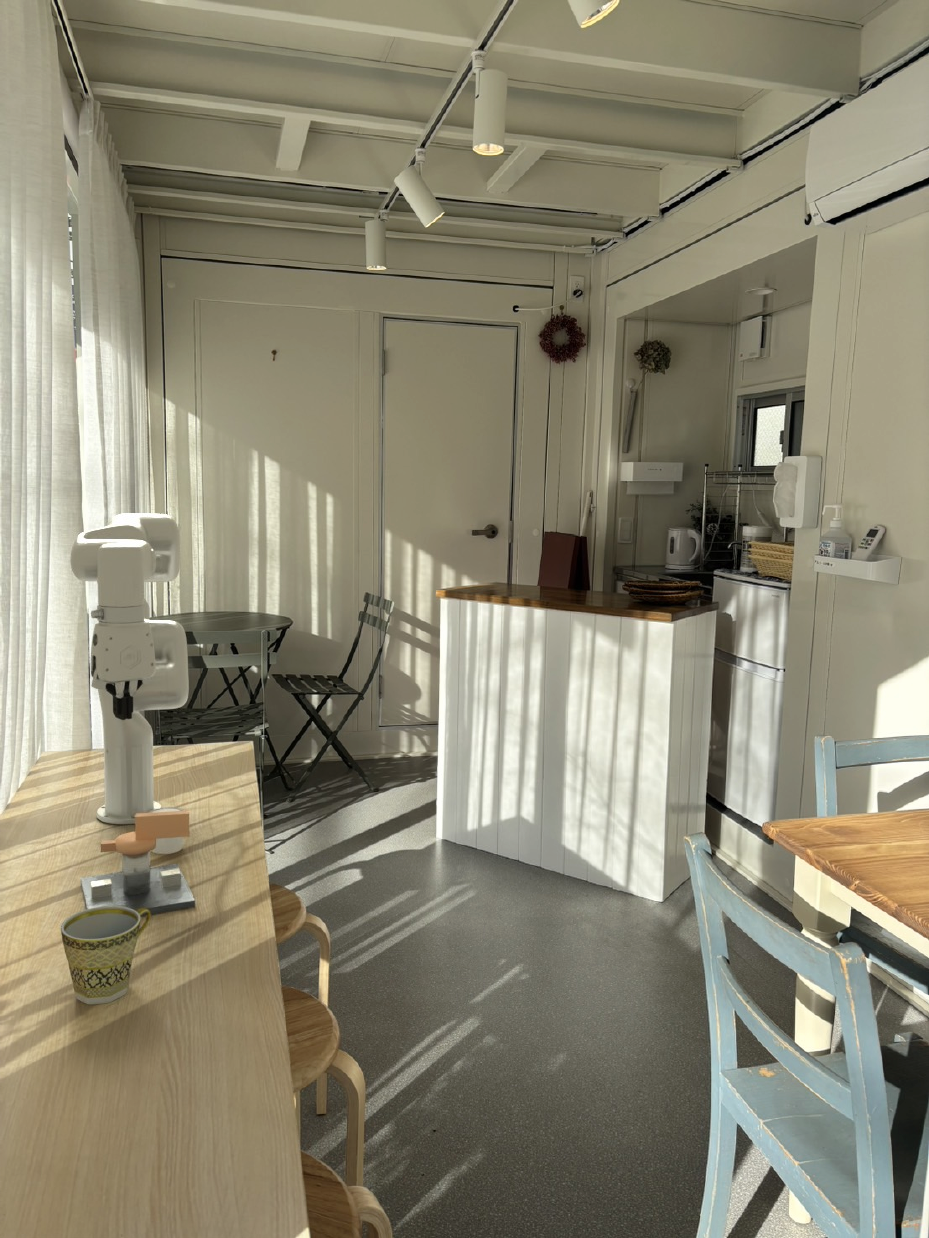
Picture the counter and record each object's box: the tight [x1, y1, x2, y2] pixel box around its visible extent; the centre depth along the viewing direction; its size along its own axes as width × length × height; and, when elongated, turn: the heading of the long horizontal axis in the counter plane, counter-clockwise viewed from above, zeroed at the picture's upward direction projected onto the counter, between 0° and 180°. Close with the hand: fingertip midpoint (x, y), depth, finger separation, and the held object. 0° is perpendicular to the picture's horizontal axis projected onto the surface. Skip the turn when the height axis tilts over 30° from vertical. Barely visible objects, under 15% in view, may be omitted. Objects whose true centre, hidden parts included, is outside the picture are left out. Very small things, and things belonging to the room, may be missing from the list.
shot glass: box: [149, 806, 186, 855], centre depth 175 cm, size 7×7×7 cm
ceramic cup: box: [60, 906, 152, 1006], centre depth 126 cm, size 13×10×10 cm
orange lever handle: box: [100, 809, 190, 855], centre depth 154 cm, size 14×6×6 cm, turn 106°
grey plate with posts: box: [80, 851, 196, 917], centre depth 154 cm, size 16×16×8 cm
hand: (123, 717), depth 163 cm, fingers closed
